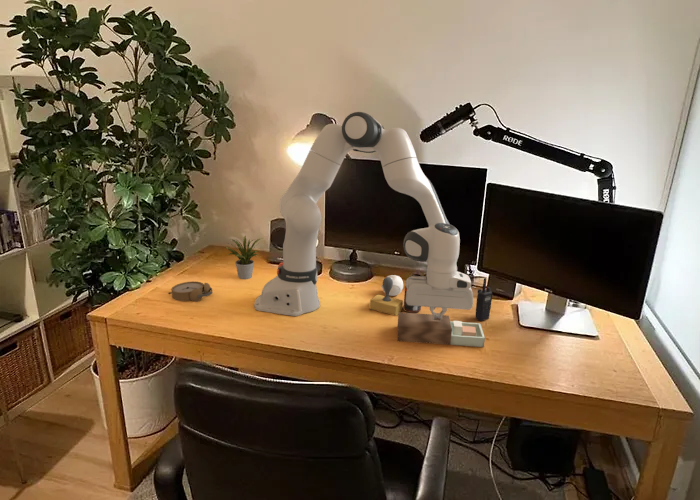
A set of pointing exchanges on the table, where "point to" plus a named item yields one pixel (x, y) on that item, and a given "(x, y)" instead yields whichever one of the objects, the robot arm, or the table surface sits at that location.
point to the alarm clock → (190, 291)
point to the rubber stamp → (386, 300)
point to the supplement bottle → (408, 307)
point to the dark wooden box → (423, 328)
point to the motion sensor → (395, 285)
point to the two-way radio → (483, 303)
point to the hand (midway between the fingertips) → (437, 319)
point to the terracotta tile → (468, 331)
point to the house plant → (244, 259)
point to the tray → (469, 340)
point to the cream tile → (457, 328)
